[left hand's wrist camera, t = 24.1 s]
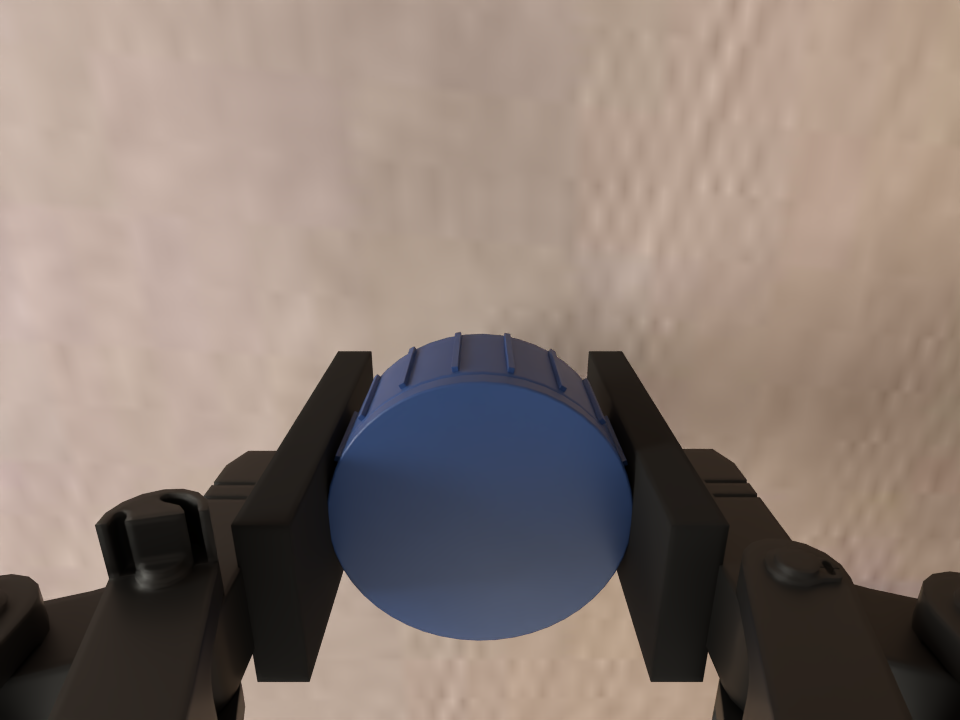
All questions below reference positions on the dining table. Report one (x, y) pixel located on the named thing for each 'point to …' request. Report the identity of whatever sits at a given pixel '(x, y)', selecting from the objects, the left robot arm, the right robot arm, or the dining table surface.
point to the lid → (480, 490)
